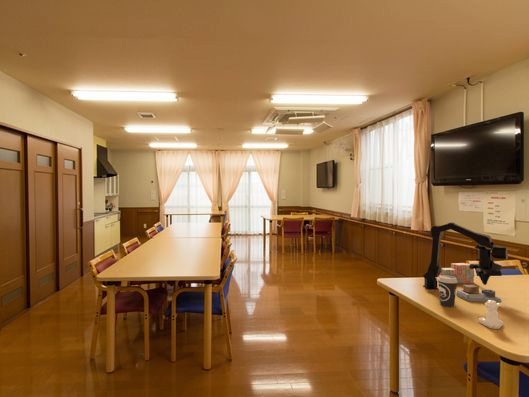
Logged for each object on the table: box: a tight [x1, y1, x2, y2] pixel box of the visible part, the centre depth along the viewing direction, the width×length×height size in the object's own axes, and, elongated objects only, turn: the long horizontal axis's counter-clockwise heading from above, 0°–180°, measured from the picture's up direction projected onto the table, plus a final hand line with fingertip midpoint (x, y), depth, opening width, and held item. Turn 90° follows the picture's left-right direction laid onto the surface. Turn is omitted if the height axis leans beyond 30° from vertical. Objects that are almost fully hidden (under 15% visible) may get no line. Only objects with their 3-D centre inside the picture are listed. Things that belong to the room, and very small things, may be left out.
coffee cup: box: [437, 275, 459, 308], centre depth 170 cm, size 10×10×15 cm
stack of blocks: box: [438, 262, 475, 284], centre depth 216 cm, size 21×6×12 cm, turn 98°
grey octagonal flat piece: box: [481, 288, 496, 297], centre depth 182 cm, size 6×6×2 cm
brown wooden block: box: [462, 284, 480, 294], centre depth 182 cm, size 6×4×6 cm
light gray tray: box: [455, 288, 502, 302], centre depth 182 cm, size 18×11×5 cm, turn 90°
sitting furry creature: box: [478, 300, 504, 330], centre depth 142 cm, size 10×9×12 cm
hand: (484, 284), depth 182 cm, fingers closed
